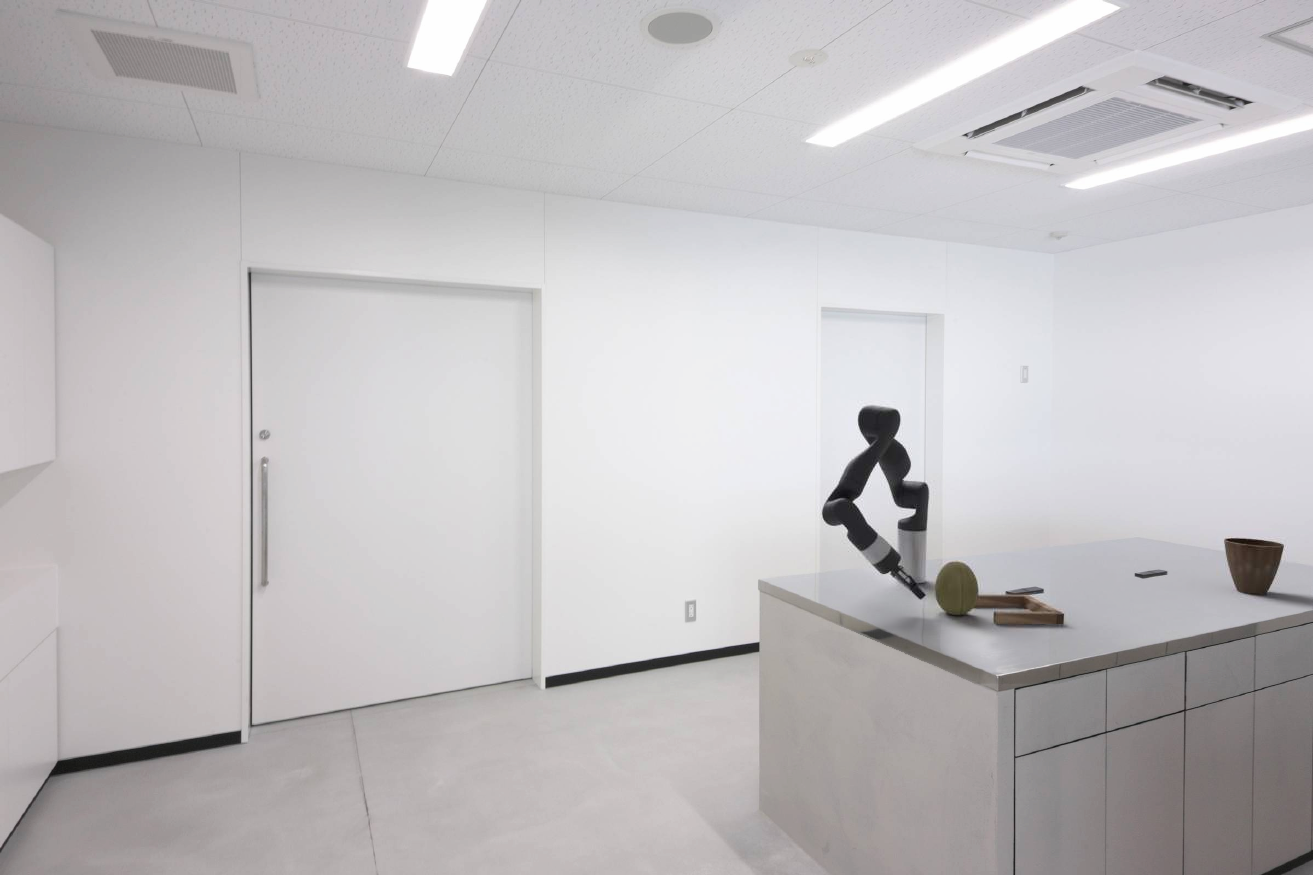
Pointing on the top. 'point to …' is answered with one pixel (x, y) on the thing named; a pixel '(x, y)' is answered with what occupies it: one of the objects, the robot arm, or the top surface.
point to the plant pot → (1253, 563)
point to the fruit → (956, 588)
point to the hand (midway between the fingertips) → (922, 596)
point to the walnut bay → (1037, 616)
